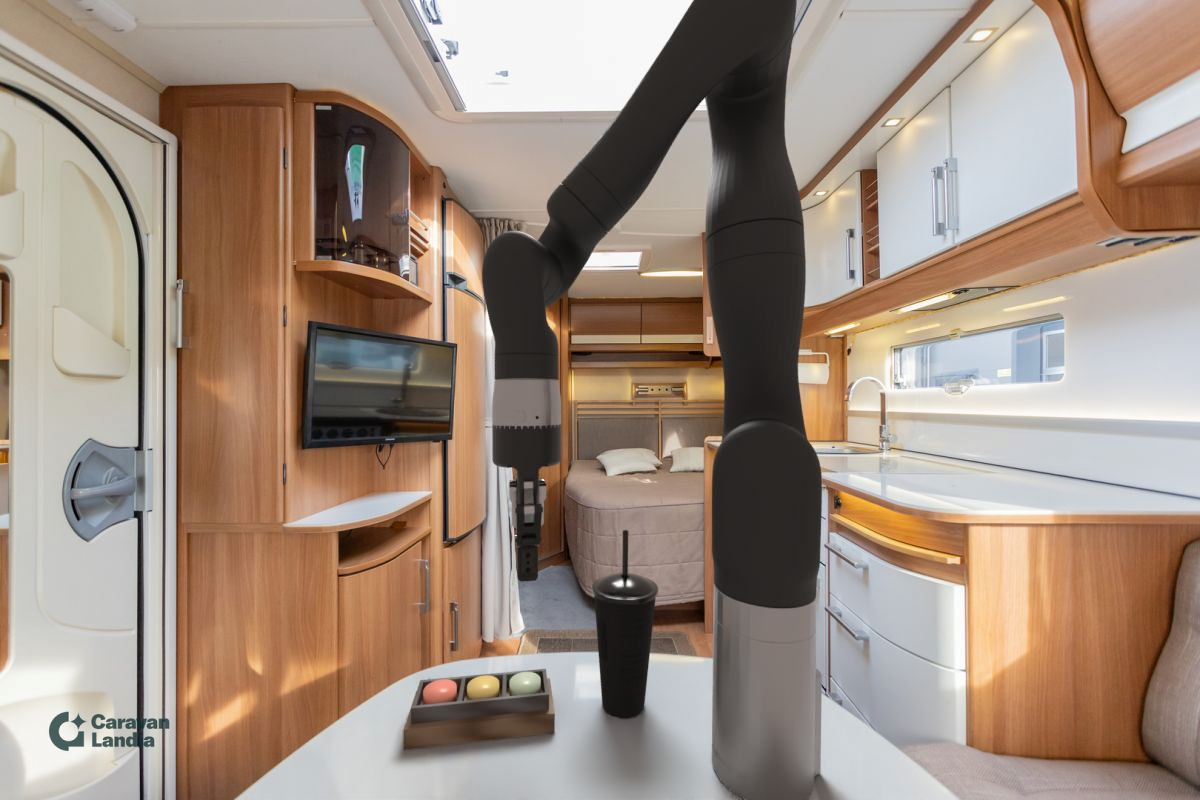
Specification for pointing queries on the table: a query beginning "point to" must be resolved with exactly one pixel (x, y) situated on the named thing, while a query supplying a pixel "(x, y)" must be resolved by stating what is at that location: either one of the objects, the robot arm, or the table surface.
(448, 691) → the button coral
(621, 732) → the table surface
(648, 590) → the drinking cup
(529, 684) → the button sage
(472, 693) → the button ochre
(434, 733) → the toy traffic light
